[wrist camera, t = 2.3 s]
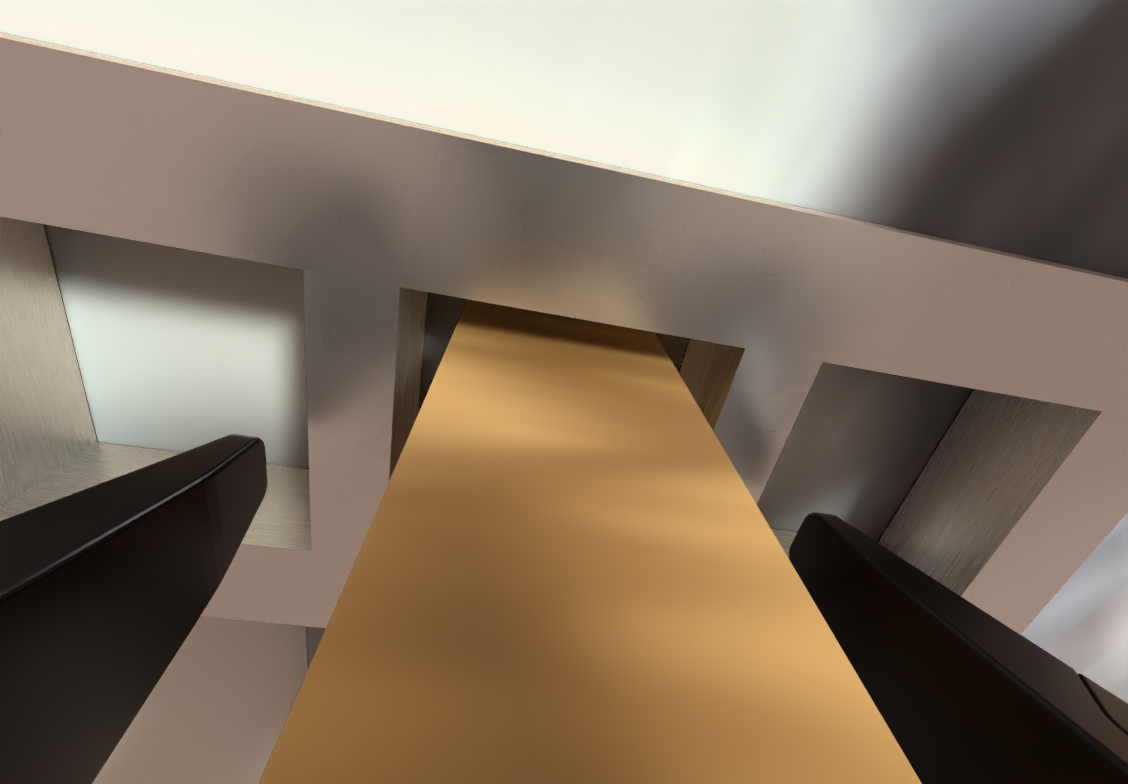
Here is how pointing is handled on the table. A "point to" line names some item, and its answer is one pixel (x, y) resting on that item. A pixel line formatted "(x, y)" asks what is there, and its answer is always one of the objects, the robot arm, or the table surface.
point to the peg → (574, 593)
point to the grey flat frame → (550, 285)
